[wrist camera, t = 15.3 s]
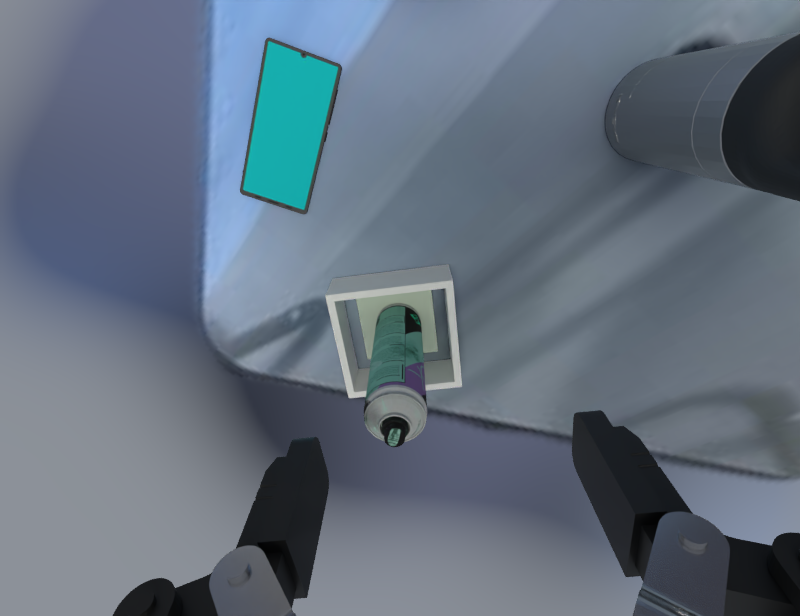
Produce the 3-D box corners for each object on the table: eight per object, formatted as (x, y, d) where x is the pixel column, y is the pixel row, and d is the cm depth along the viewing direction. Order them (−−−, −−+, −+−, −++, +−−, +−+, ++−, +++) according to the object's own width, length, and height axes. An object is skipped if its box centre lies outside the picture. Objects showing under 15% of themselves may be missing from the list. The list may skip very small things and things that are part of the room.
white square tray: (448, 264, 49) (452, 280, 44) (457, 363, 55) (462, 386, 50) (332, 278, 50) (325, 295, 45) (353, 374, 55) (348, 398, 51)
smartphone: (239, 193, 45) (265, 36, 39) (242, 191, 46) (268, 37, 40) (306, 215, 46) (342, 65, 40) (308, 213, 47) (344, 66, 41)
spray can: (384, 347, 53) (372, 470, 35) (370, 309, 51) (350, 420, 33) (426, 336, 53) (436, 457, 35) (414, 297, 50) (418, 405, 32)
